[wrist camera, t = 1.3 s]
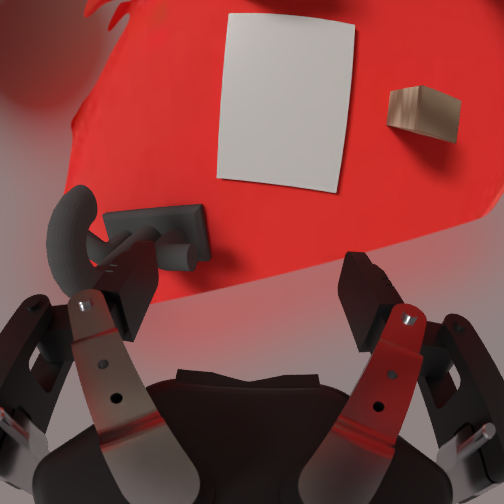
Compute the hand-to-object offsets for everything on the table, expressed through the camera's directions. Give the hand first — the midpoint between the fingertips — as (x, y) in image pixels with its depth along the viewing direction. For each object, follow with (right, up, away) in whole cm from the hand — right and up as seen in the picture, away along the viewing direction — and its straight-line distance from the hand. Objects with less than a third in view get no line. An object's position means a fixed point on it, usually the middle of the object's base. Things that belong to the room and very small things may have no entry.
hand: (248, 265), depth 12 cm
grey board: (+4, +19, +18) cm, 26 cm away
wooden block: (+19, +18, +16) cm, 30 cm away
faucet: (-15, +7, +28) cm, 32 cm away
